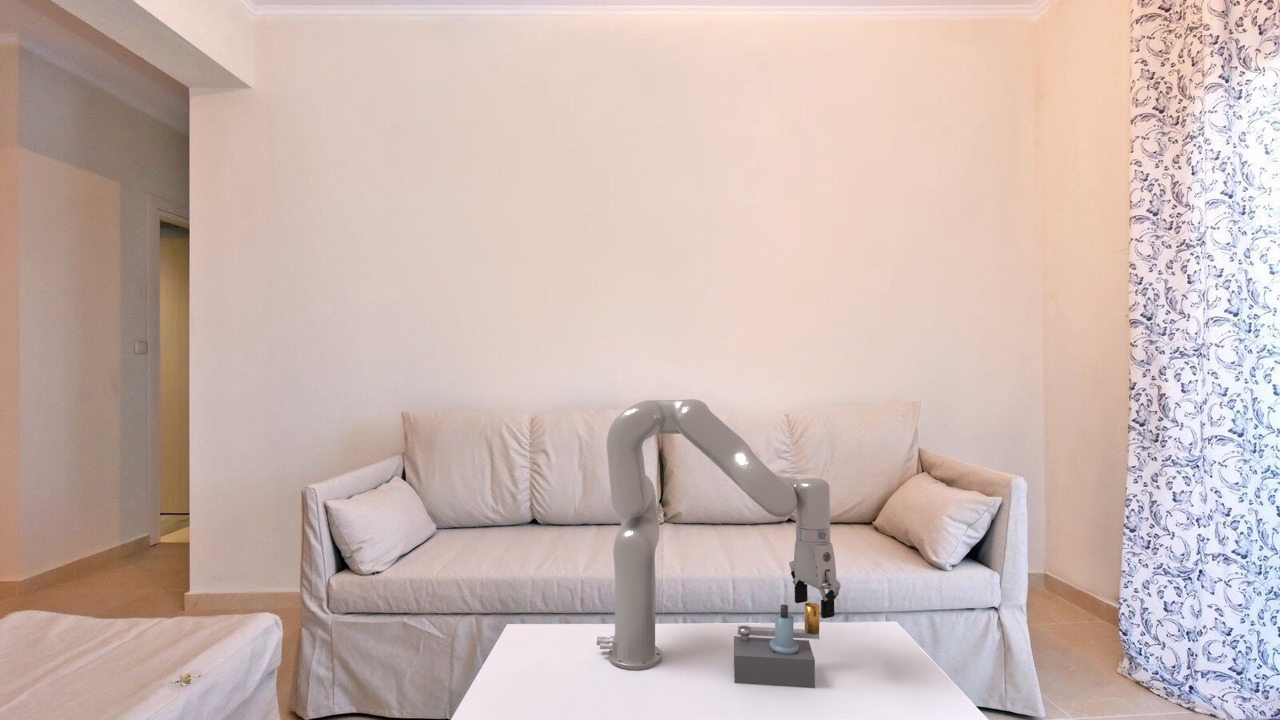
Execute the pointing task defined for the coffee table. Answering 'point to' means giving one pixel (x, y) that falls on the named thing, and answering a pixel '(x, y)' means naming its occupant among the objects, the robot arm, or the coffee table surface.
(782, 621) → the plug
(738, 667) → the socket block
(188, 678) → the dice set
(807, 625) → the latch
